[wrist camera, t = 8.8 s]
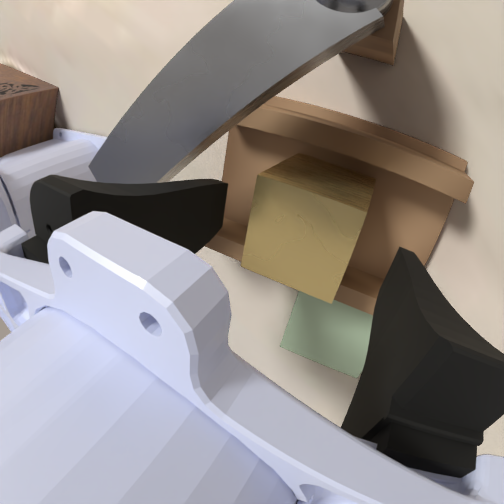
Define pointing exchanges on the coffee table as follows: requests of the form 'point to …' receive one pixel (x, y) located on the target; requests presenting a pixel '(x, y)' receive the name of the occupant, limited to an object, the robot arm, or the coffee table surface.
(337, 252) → the tan cube
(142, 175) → the lever
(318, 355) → the pad
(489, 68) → the coffee table surface
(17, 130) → the tissue box cover
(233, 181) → the body
